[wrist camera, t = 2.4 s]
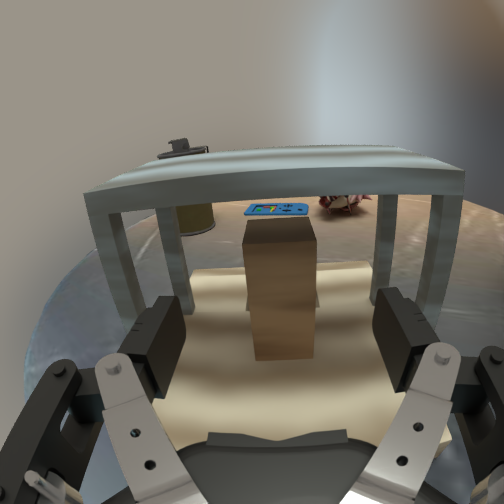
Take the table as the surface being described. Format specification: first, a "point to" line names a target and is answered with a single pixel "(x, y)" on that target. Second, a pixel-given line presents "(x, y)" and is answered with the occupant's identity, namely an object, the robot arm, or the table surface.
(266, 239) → the walnut block
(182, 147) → the canister
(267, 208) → the handheld gaming device
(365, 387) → the tunnel deck
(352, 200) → the toy
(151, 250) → the table surface
